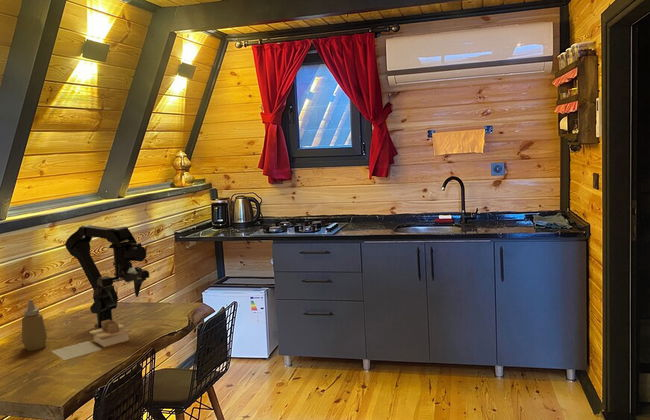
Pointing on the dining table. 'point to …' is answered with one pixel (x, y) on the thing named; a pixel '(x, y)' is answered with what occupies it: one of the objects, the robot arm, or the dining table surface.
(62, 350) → the mat
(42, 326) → the squeeze bottle
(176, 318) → the dining table surface
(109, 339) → the dish
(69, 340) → the dining table surface
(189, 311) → the dining table surface
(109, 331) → the lid
